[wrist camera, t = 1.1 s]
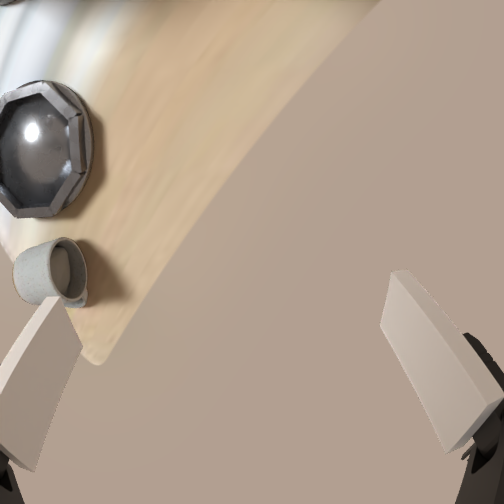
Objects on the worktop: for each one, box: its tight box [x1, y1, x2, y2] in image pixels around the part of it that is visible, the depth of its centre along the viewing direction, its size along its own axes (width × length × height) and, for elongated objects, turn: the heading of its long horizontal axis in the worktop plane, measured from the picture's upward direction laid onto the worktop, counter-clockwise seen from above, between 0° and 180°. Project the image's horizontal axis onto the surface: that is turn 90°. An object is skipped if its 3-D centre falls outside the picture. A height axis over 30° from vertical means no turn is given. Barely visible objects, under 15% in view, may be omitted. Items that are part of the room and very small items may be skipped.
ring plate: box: [0, 80, 94, 218], centre depth 26 cm, size 17×17×2 cm
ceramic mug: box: [12, 237, 88, 308], centre depth 32 cm, size 11×8×8 cm
